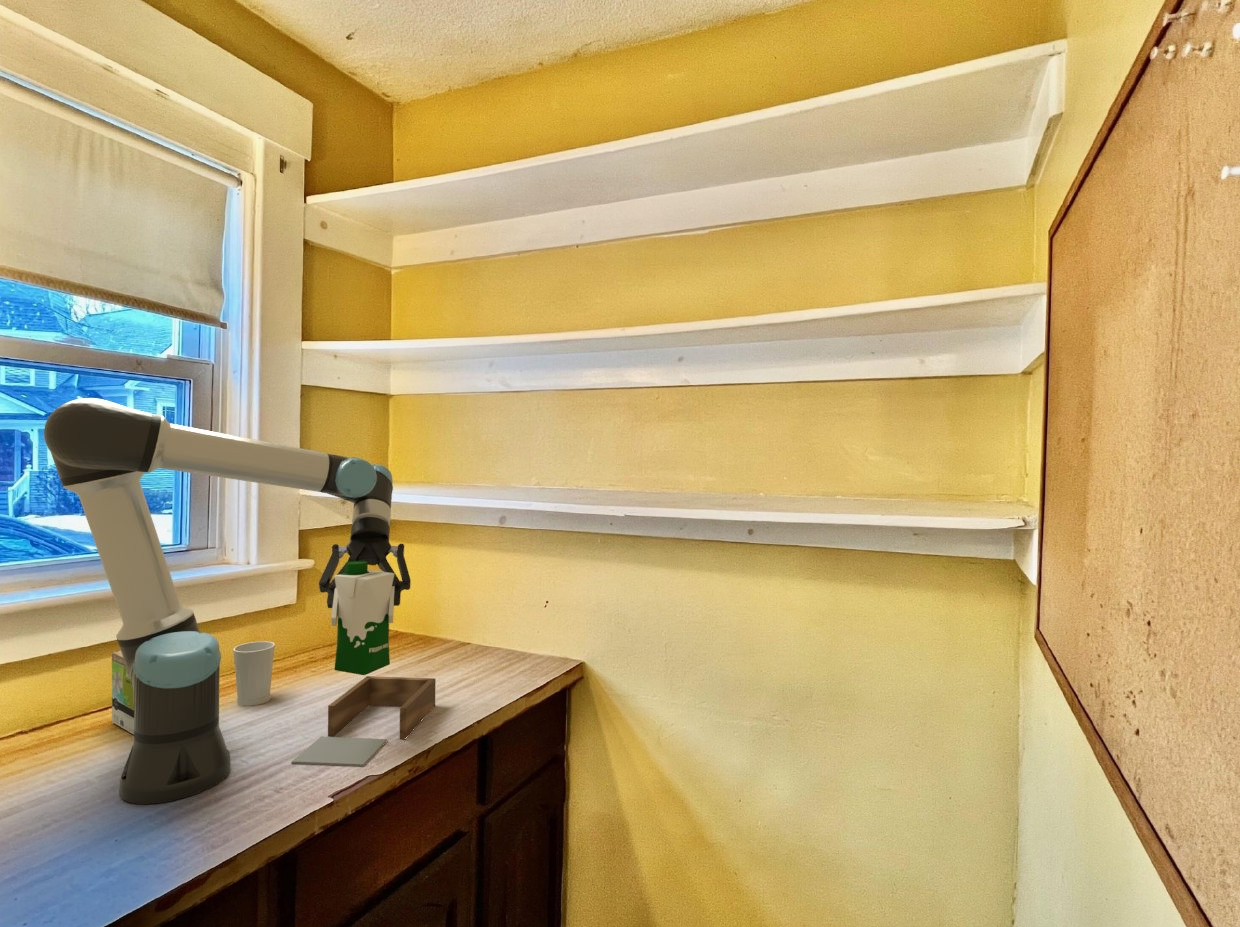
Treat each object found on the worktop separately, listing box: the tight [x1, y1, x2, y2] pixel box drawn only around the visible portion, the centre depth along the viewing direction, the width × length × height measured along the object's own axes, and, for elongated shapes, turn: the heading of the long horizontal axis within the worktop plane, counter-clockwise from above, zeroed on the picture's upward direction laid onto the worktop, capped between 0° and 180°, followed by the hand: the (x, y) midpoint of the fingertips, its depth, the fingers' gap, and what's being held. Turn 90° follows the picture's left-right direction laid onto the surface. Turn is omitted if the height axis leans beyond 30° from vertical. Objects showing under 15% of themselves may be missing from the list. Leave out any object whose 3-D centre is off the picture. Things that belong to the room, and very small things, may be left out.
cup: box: [232, 640, 276, 707], centre depth 139 cm, size 8×8×12 cm
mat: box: [290, 736, 388, 767], centre depth 116 cm, size 13×10×1 cm
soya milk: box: [333, 561, 396, 676], centre depth 120 cm, size 9×9×20 cm
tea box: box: [111, 650, 134, 735], centre depth 126 cm, size 15×10×15 cm
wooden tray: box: [327, 675, 436, 740], centre depth 130 cm, size 15×17×6 cm
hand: (362, 620), depth 117 cm, fingers closed on soya milk, 9 cm apart
